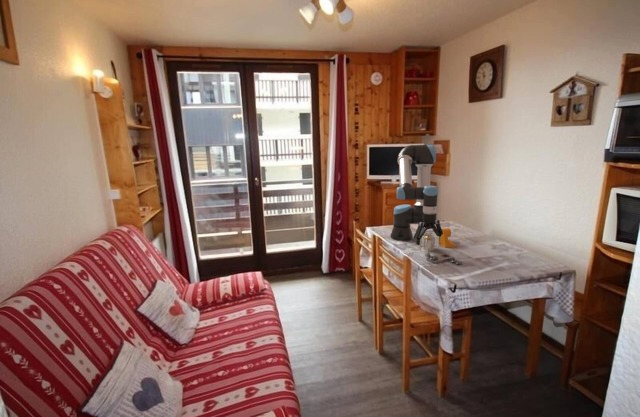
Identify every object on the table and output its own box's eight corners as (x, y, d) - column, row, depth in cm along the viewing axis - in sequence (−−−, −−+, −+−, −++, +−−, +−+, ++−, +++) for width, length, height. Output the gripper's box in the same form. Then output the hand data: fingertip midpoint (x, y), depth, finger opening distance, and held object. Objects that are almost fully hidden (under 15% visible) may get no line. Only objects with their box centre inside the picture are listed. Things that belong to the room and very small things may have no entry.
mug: (415, 248, 205) (415, 233, 203) (425, 246, 208) (426, 231, 206) (427, 254, 195) (428, 238, 193) (438, 251, 198) (439, 236, 196)
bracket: (456, 248, 202) (457, 230, 200) (444, 249, 202) (446, 231, 199) (448, 243, 213) (449, 226, 210) (437, 244, 213) (438, 226, 210)
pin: (422, 257, 190) (423, 236, 187) (427, 255, 192) (428, 235, 189) (427, 259, 187) (428, 238, 184) (432, 258, 188) (433, 237, 185)
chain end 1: (445, 255, 189) (445, 252, 188) (454, 259, 183) (455, 255, 182) (425, 259, 182) (425, 256, 182) (434, 264, 176) (434, 260, 176)
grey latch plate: (436, 259, 186) (436, 256, 186) (445, 257, 189) (445, 254, 189) (456, 268, 173) (456, 264, 173) (465, 265, 176) (466, 262, 176)
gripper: (417, 216, 175) (415, 253, 179) (450, 211, 185) (448, 246, 189) (408, 214, 181) (406, 249, 186) (440, 209, 192) (438, 243, 196)
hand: (427, 248), depth 188 cm, fingers open, 13 cm apart
